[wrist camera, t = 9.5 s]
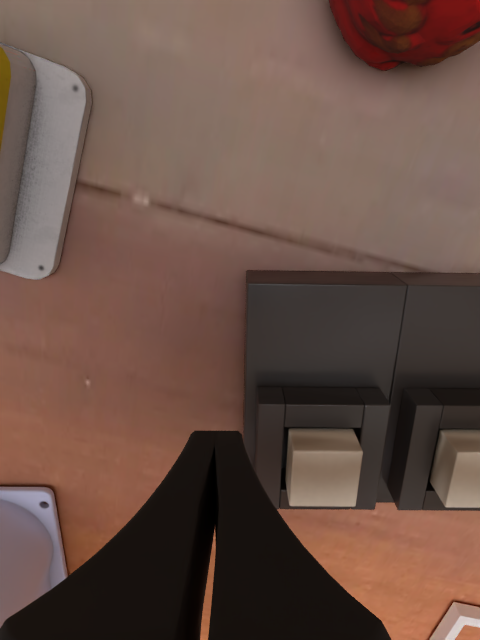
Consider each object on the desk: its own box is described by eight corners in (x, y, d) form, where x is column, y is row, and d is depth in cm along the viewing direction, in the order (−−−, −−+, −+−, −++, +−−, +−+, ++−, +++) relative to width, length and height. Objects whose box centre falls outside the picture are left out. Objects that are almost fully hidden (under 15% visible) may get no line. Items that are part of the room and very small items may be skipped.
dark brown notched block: (480, 473, 25) (523, 527, 21) (361, 472, 25) (383, 527, 21) (531, 273, 21) (595, 297, 17) (389, 272, 21) (423, 295, 17)
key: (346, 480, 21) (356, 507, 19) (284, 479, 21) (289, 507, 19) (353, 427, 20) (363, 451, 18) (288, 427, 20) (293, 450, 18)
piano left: (361, 472, 25) (383, 527, 21) (241, 471, 25) (243, 526, 21) (389, 272, 21) (423, 295, 17) (246, 270, 21) (248, 293, 17)
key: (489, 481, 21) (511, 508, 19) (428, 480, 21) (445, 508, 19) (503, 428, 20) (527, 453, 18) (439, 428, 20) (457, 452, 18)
